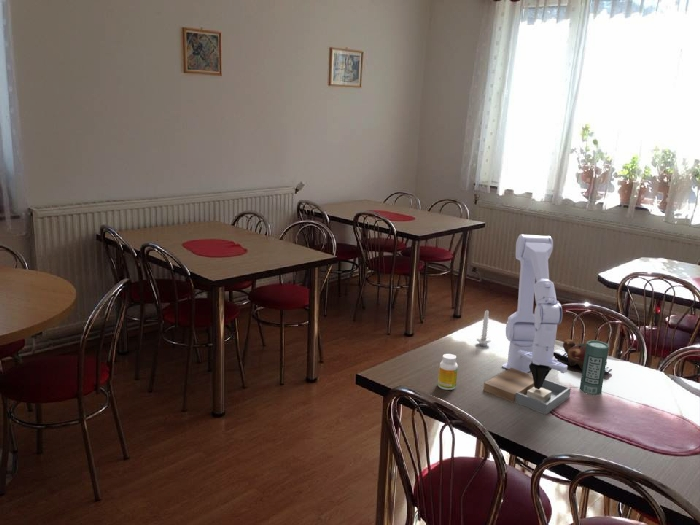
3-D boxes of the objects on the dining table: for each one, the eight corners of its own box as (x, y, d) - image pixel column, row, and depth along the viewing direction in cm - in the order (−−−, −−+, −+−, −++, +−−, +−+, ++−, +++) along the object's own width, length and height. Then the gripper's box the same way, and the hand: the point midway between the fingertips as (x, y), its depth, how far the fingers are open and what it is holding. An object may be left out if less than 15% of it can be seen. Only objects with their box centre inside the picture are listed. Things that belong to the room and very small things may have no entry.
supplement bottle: (455, 391, 183) (458, 361, 181) (437, 389, 184) (439, 358, 182) (456, 383, 188) (459, 353, 186) (438, 381, 189) (441, 351, 187)
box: (539, 386, 189) (540, 377, 188) (569, 397, 183) (570, 387, 182) (514, 402, 178) (515, 392, 178) (545, 414, 172) (547, 404, 171)
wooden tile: (534, 391, 185) (535, 385, 184) (550, 397, 181) (551, 391, 181) (526, 396, 181) (527, 390, 180) (542, 403, 178) (543, 396, 177)
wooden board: (510, 374, 196) (511, 367, 195) (539, 385, 189) (540, 378, 189) (483, 390, 185) (484, 382, 184) (513, 402, 178) (514, 394, 177)
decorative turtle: (566, 356, 213) (570, 334, 211) (610, 370, 203) (614, 347, 201) (553, 363, 206) (556, 341, 204) (598, 379, 196) (602, 355, 194)
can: (601, 388, 190) (609, 343, 186) (600, 396, 184) (608, 349, 180) (580, 384, 192) (587, 338, 188) (578, 392, 187) (586, 345, 183)
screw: (492, 344, 220) (487, 348, 216) (479, 341, 222) (474, 345, 218) (496, 309, 216) (491, 313, 212) (482, 306, 219) (477, 310, 215)
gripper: (514, 340, 179) (508, 383, 183) (562, 355, 170) (555, 400, 173) (525, 334, 184) (520, 376, 188) (573, 348, 175) (566, 392, 178)
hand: (537, 387), depth 181 cm, fingers closed
